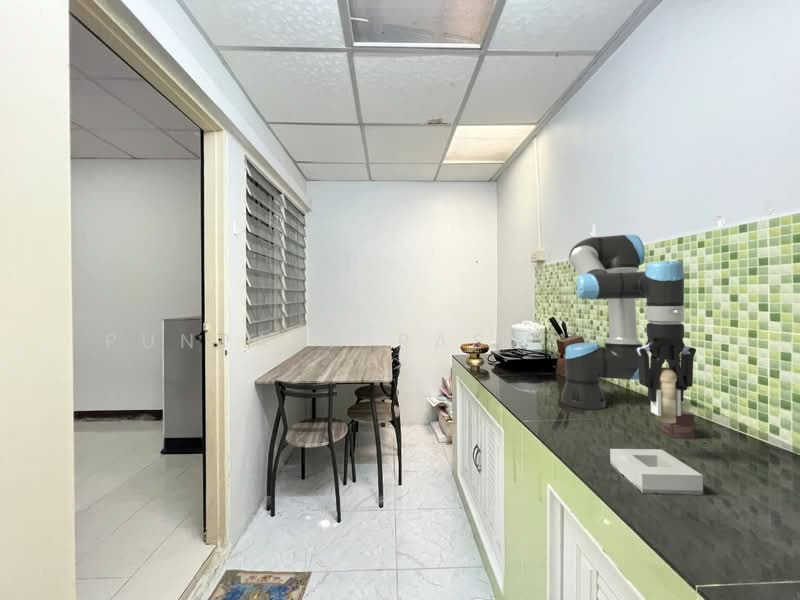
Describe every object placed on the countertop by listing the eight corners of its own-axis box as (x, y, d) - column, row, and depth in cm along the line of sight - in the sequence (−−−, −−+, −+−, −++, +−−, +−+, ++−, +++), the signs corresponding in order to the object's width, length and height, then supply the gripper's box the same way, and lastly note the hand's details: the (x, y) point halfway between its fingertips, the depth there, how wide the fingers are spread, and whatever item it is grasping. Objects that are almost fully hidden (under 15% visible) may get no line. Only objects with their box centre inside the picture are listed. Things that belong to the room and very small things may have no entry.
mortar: (610, 465, 82) (610, 448, 82) (661, 465, 81) (661, 449, 81) (642, 493, 70) (642, 474, 70) (703, 494, 69) (702, 475, 69)
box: (695, 439, 96) (694, 414, 96) (671, 438, 97) (671, 413, 97) (682, 431, 102) (681, 407, 102) (659, 430, 103) (659, 406, 103)
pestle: (650, 416, 88) (649, 365, 88) (668, 416, 88) (668, 365, 87) (662, 423, 83) (662, 369, 83) (682, 423, 83) (681, 369, 83)
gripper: (639, 324, 82) (640, 419, 82) (713, 323, 81) (713, 419, 81) (621, 321, 89) (622, 408, 90) (688, 320, 88) (689, 408, 89)
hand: (665, 413), depth 86 cm, fingers closed on pestle, 4 cm apart
